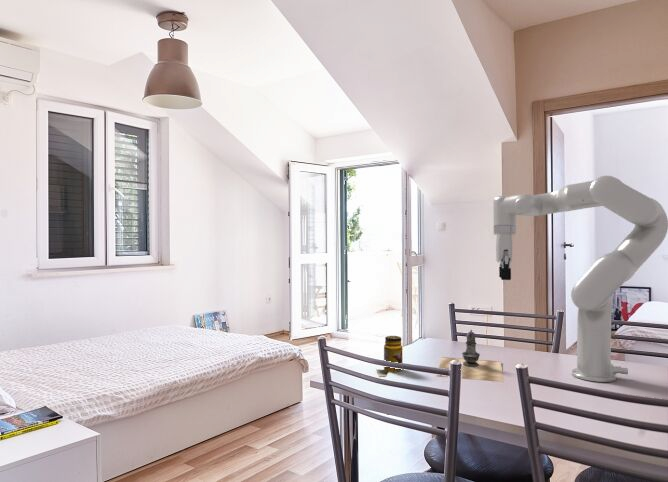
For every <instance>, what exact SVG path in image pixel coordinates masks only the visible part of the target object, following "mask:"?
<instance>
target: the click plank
mask: <svg viewBox="0 0 668 482" xmlns="http://www.w3.org/2000/svg"><path fill="white" fill-rule="evenodd" d="M452 360H459V361H461V362H462V363H464V362H466V361H465V360H464V358H461V357H460V358H459V357H447V356H446V357H445V356H441V358H440V362H439V365H438V369H439V368H447V369H449V364H450V361H452ZM476 362H477V363H478V364H479V366H477V367H468V366H465V365H463V366H462V370H472V371H485V372H498V373H502V374H503V369H502V361H501V360H487V359H486V360H485V359H478V360H477V361H476Z"/></svg>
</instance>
